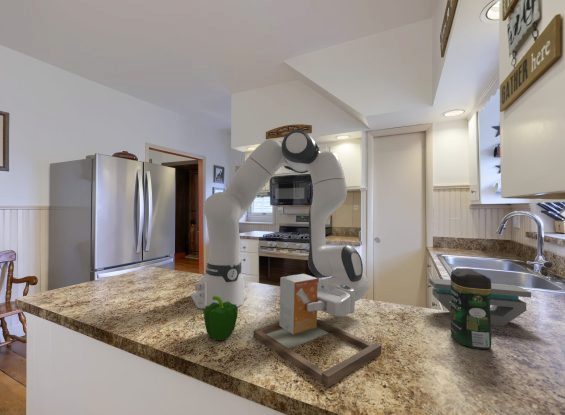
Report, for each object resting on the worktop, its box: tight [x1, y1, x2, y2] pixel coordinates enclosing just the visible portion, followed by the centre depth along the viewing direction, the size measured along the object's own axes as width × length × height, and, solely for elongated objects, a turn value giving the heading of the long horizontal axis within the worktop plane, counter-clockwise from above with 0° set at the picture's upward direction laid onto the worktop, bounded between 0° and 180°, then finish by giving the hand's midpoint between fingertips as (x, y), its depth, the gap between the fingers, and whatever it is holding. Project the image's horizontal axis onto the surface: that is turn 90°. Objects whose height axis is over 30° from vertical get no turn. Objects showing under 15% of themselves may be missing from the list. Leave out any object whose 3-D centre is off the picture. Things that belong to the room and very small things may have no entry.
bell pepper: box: [203, 296, 239, 341], centre depth 67 cm, size 8×8×10 cm
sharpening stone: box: [428, 277, 532, 327], centre depth 83 cm, size 25×8×11 cm, turn 73°
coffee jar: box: [450, 267, 492, 350], centre depth 68 cm, size 10×8×19 cm
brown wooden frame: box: [252, 318, 382, 388], centre depth 64 cm, size 25×19×2 cm
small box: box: [278, 273, 319, 334], centre depth 69 cm, size 8×6×13 cm
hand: (295, 303), depth 68 cm, fingers closed on small box, 6 cm apart
